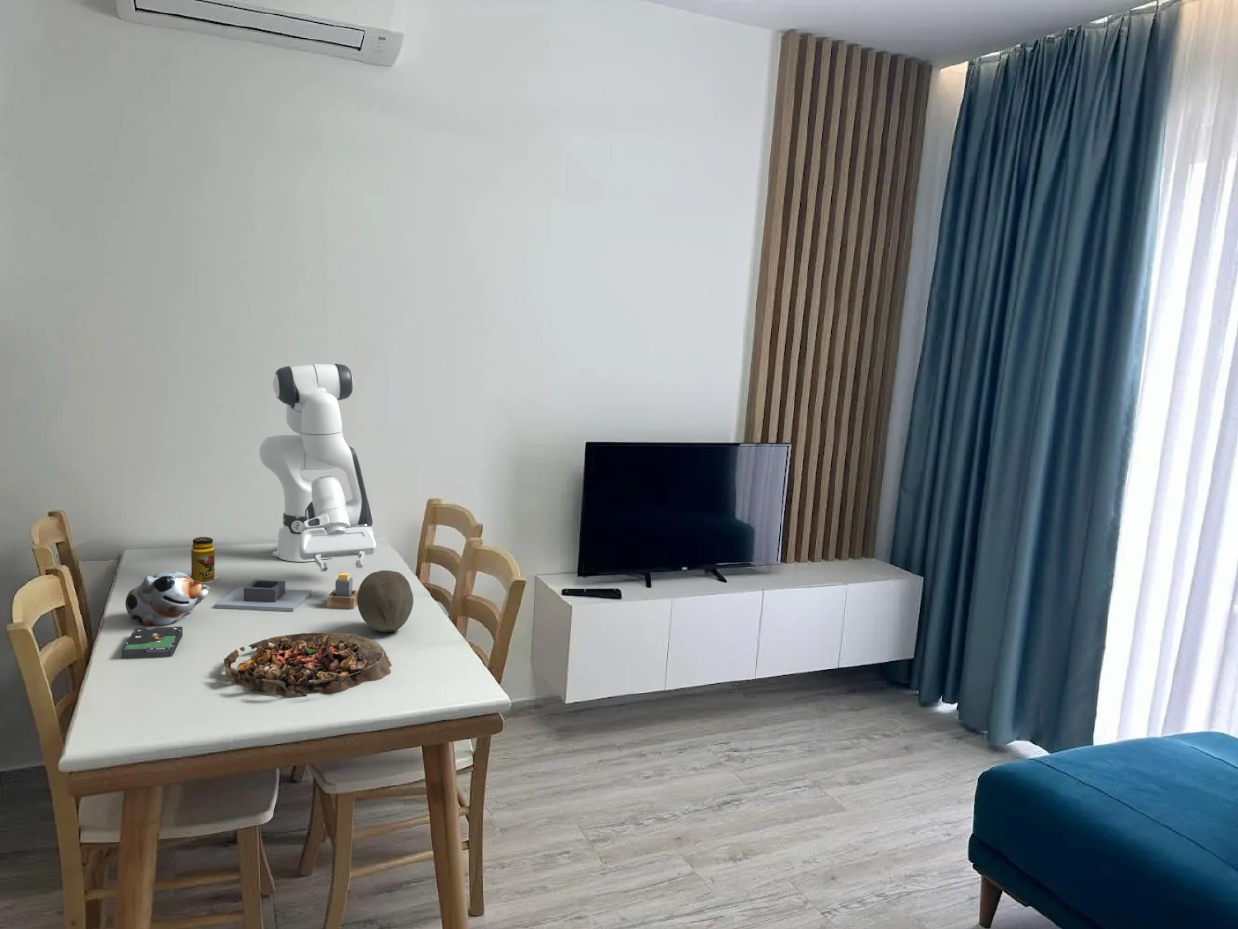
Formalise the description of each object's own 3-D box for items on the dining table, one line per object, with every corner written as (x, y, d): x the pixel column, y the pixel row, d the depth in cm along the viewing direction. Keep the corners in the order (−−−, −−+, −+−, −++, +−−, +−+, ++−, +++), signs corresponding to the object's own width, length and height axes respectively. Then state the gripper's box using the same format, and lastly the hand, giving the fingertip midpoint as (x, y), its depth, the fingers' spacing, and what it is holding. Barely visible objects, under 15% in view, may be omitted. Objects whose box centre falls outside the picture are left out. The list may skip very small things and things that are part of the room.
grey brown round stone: (425, 629, 235) (427, 571, 232) (382, 643, 223) (383, 583, 221) (386, 617, 242) (387, 561, 240) (343, 630, 231) (343, 571, 228)
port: (238, 590, 257) (238, 574, 257) (311, 594, 258) (311, 578, 258) (215, 608, 242) (215, 591, 241) (293, 611, 242) (293, 594, 242)
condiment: (211, 583, 263) (211, 542, 261) (180, 582, 262) (179, 541, 260) (219, 576, 270) (219, 536, 268) (188, 575, 269) (188, 535, 267)
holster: (334, 600, 254) (334, 589, 254) (360, 601, 254) (360, 590, 254) (327, 607, 247) (327, 596, 247) (353, 609, 247) (353, 598, 247)
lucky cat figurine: (192, 605, 242) (213, 559, 237) (194, 640, 232) (216, 593, 227) (122, 594, 233) (143, 545, 228) (120, 630, 223) (142, 580, 218)
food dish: (215, 711, 184) (213, 673, 183) (233, 654, 216) (232, 622, 214) (397, 695, 194) (397, 659, 193) (389, 643, 225) (389, 612, 224)
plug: (338, 602, 253) (339, 571, 251) (352, 602, 253) (352, 572, 251) (335, 606, 249) (335, 575, 248) (348, 606, 249) (349, 576, 248)
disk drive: (134, 639, 218) (121, 661, 204) (134, 627, 218) (121, 648, 204) (183, 637, 221) (173, 658, 207) (182, 625, 221) (173, 646, 207)
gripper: (369, 530, 266) (378, 571, 259) (294, 535, 256) (302, 578, 248) (373, 517, 261) (382, 559, 254) (297, 522, 251) (305, 565, 244)
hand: (342, 568), depth 251 cm, fingers open, 8 cm apart
